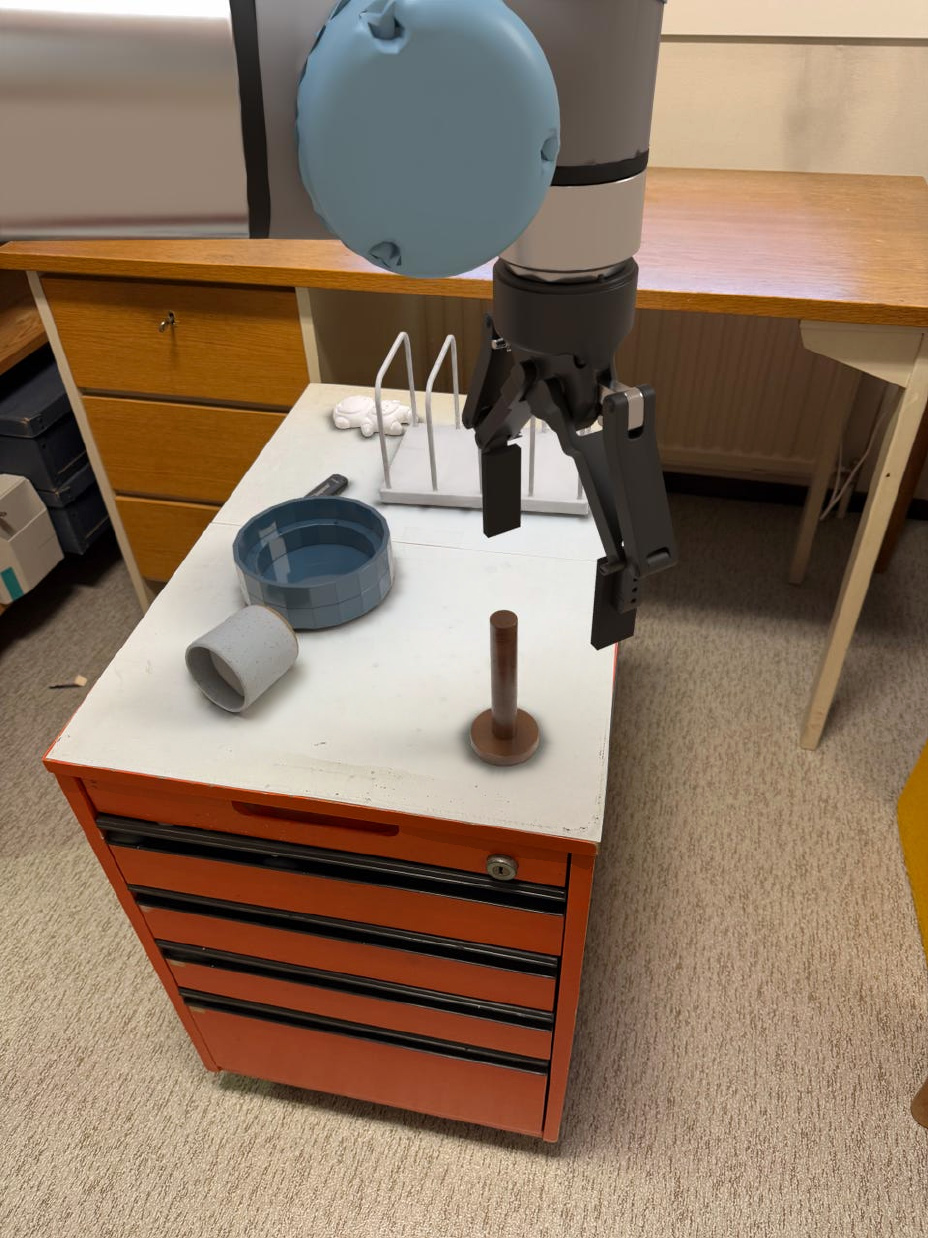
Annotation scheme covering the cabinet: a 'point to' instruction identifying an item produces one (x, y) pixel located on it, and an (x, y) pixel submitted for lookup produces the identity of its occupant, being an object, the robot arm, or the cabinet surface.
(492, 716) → the wooden post on disc
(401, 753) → the cabinet surface
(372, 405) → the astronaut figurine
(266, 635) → the ceramic mug
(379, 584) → the bowl
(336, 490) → the usb stick
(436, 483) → the file sorter
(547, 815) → the cabinet surface
